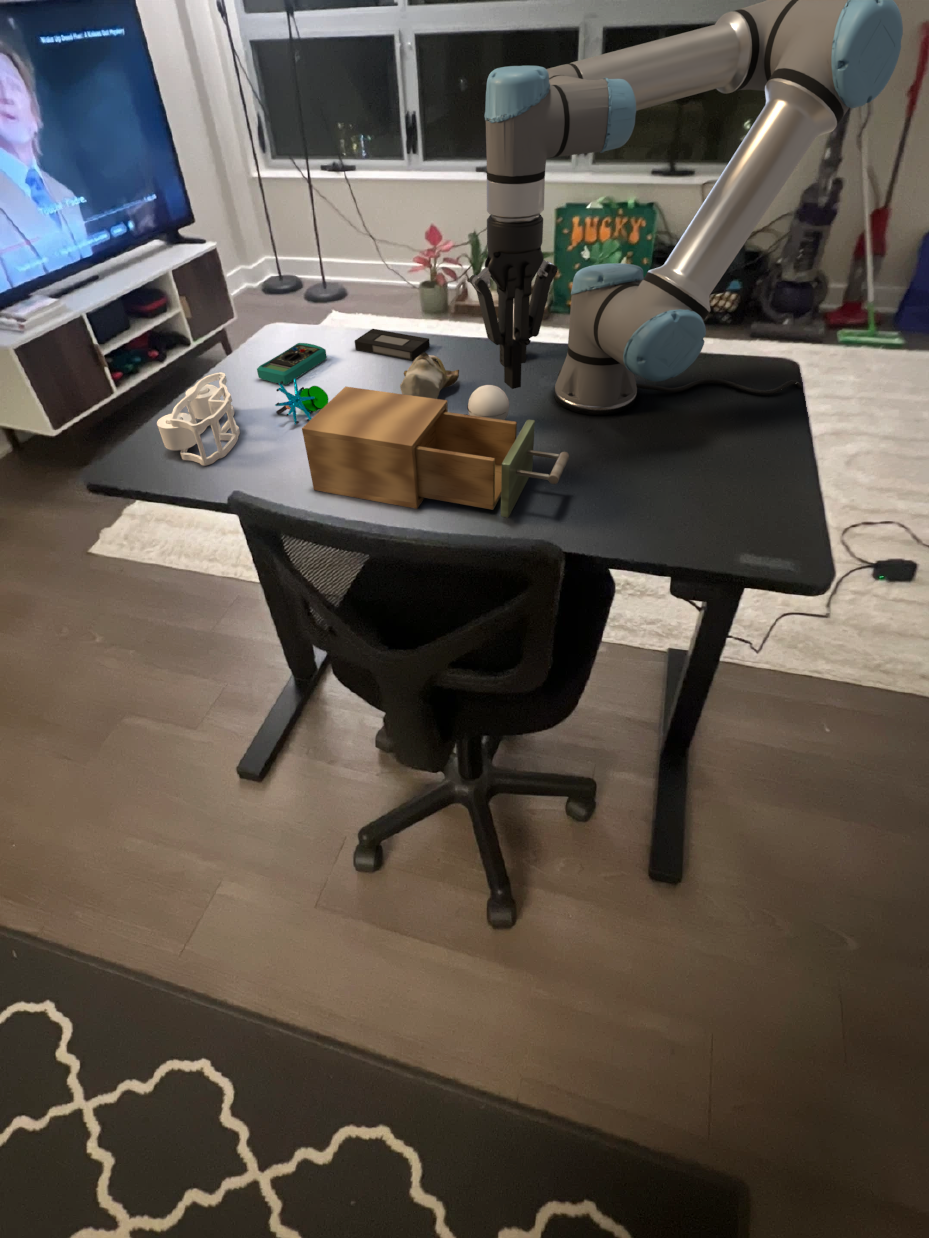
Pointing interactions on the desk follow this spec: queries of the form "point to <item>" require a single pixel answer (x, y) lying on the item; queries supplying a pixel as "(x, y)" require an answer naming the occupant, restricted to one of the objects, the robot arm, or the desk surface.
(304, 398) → the stick construction toy
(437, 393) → the ceramic sculpture
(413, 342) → the vhs tape
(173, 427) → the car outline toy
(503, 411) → the cream egg
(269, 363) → the digital multimeter
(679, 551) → the desk surface
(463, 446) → the drawer
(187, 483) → the desk surface
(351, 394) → the cabinet
